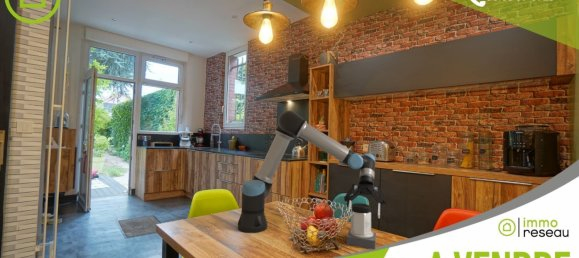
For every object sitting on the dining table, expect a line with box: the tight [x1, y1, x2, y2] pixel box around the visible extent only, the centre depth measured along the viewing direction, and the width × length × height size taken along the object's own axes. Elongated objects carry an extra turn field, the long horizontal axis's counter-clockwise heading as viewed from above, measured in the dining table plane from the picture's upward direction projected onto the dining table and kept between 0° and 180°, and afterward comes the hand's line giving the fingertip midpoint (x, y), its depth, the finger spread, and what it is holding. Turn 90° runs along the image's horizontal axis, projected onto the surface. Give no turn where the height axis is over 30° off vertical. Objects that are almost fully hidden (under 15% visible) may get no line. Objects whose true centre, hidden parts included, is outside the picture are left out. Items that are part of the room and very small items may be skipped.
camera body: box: [345, 228, 377, 250], centre depth 122 cm, size 12×11×4 cm
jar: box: [350, 202, 372, 235], centre depth 122 cm, size 9×8×12 cm
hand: (363, 215), depth 127 cm, fingers open, 13 cm apart
